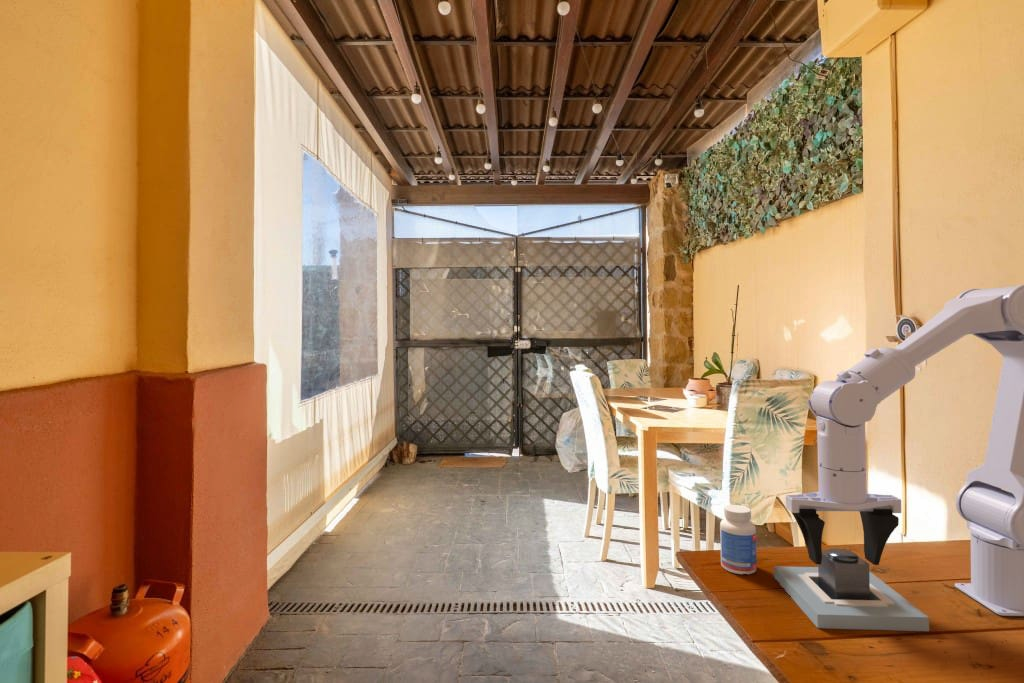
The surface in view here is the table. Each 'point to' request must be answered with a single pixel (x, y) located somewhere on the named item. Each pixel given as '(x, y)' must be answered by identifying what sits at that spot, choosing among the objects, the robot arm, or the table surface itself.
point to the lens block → (844, 575)
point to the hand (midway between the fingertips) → (843, 561)
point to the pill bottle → (738, 540)
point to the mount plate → (850, 604)
